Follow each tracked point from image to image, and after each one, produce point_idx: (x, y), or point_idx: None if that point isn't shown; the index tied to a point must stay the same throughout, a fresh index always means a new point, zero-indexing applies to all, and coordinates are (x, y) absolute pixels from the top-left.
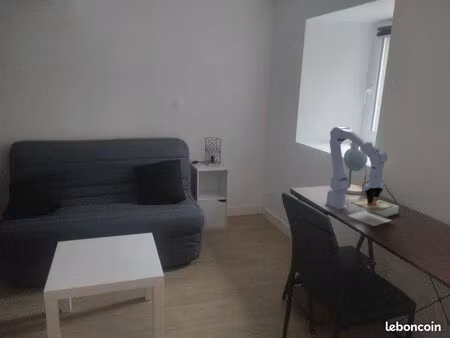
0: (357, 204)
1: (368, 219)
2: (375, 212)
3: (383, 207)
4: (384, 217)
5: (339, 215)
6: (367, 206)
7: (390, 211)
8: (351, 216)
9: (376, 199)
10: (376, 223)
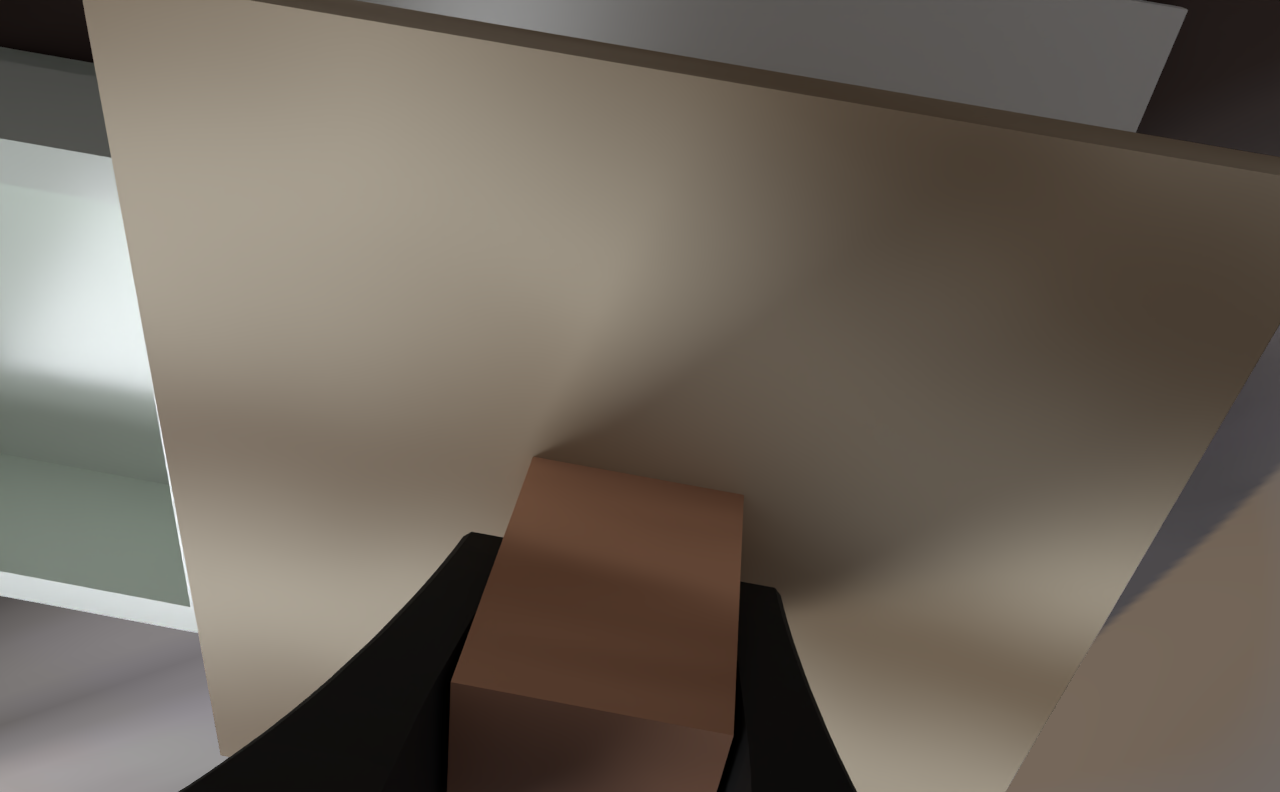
0: (1015, 765)
1: None
2: None
3: (656, 145)
4: None
5: None
6: (1031, 551)
7: (11, 99)
8: None
9: (512, 593)
10: (924, 51)
